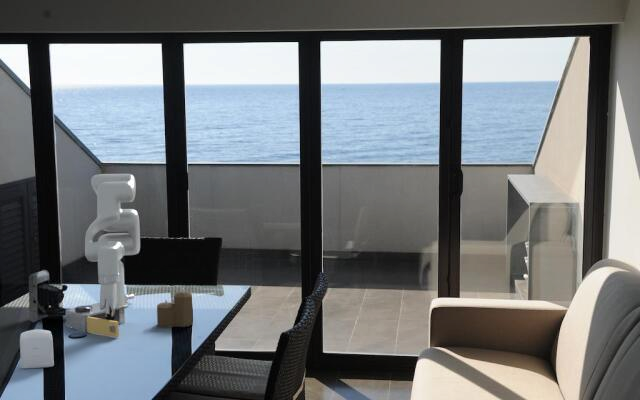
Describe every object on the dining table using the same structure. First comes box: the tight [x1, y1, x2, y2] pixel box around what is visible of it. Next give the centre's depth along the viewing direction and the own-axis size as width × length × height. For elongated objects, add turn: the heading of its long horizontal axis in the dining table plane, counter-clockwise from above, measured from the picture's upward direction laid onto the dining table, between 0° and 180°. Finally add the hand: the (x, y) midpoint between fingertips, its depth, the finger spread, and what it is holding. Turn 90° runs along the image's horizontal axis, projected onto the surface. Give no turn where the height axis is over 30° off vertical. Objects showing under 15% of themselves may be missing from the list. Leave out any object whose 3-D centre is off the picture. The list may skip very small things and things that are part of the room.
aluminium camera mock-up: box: [65, 302, 126, 333], centre depth 311 cm, size 18×13×8 cm
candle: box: [156, 286, 193, 329], centre depth 311 cm, size 14×14×15 cm
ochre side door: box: [84, 315, 120, 338], centre depth 295 cm, size 16×2×7 cm, turn 61°
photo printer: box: [19, 329, 55, 370], centre depth 259 cm, size 10×4×12 cm, turn 100°
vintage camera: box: [28, 269, 69, 323], centre depth 317 cm, size 10×15×20 cm, turn 78°
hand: (110, 325), depth 297 cm, fingers closed
